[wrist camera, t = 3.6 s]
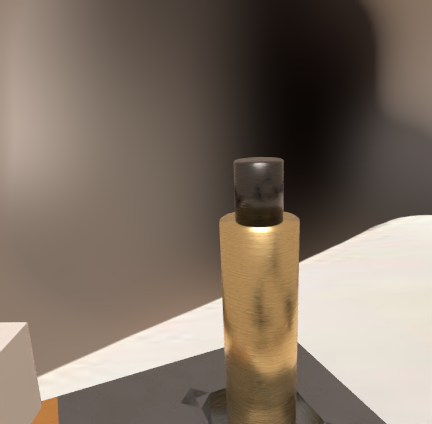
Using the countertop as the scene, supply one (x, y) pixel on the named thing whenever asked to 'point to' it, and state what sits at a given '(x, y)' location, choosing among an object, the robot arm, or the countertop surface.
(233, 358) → the tall gold bottle
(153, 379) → the housing
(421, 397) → the countertop surface
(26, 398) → the robot arm
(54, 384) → the countertop surface
